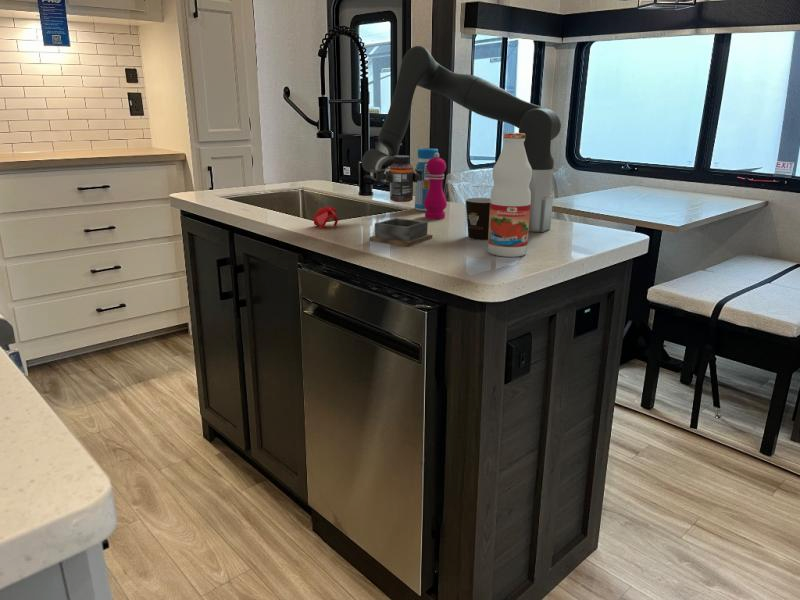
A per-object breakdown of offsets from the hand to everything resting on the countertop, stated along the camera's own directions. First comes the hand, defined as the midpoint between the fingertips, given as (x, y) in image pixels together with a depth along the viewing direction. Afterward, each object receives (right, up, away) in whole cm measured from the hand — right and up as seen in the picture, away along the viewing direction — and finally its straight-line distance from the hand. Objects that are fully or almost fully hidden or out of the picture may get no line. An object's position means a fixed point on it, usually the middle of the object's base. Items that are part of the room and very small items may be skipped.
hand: (403, 178), depth 155 cm
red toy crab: (-22, -10, +22) cm, 33 cm away
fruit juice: (+25, -19, -6) cm, 32 cm away
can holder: (-1, -15, +7) cm, 16 cm away
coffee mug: (+21, -14, +10) cm, 27 cm away
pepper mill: (+10, -5, +39) cm, 41 cm away
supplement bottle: (-1, -5, +4) cm, 7 cm away
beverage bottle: (+8, 0, +54) cm, 54 cm away
